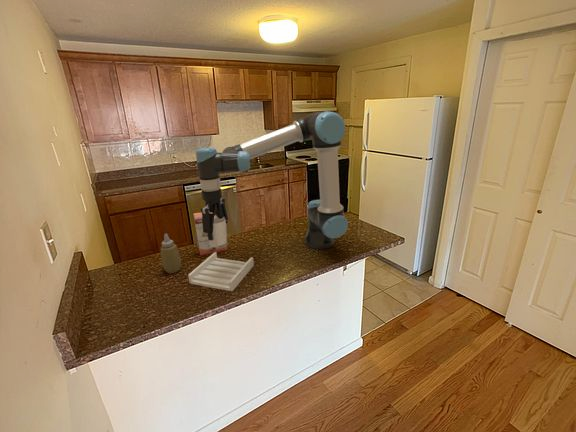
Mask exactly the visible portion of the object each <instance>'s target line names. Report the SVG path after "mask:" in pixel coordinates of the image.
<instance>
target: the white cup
mask: <svg viewBox="0 0 576 432" xmlns="http://www.w3.org/2000/svg"><path fill="white" fill-rule="evenodd" d="M226 221H227V220H225V218H224V217H223V218H222V219H219V218H218V217H214V224H213V232H215V239H216V246H220V245H223V244H225V243H226V242H227V243H228V239H227V238H228V234H227V223H226ZM226 236H227V237H226Z"/></svg>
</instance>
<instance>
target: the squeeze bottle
mask: <svg viewBox="0 0 576 432" xmlns="http://www.w3.org/2000/svg"><path fill="white" fill-rule="evenodd" d="M160 256H161V257H160V258H161V267H162V268H163V269H164V270H165V272H166V273H168V274H175V273H177V272H179V271H180V270H181V264H182V258H181V255H180V253H179V250H178V245H177V244H175V243H174V240H173V239H170V237H169V235H168V233H164V234H163V240H162V242H161V247H160Z"/></svg>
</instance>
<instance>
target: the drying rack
mask: <svg viewBox="0 0 576 432" xmlns="http://www.w3.org/2000/svg"><path fill="white" fill-rule="evenodd" d="M217 253H218V252H214V253H211V255H210V256H208V257H207V258H206V259H205V260H204V261H203V262H201V263H200V264H199V265H198V266H197V267H195V268H194V269H193V270H192V271H190V273H188V275H187V276H188V280H189V284H191V285H197V286H202V287H206V288H212V289H217V290H222V291H229V292H233V291H234V290H235V289H236V288H237V287H238V285H239V284H240V282H242V281H243V279H244V278H245V277H246V276H247V274H248V273H250V271H251V269H252V268H253V267H254V266H255V265H254V263H255V262H254V257H253V256H252V257H249V259H248V260H247V261H240V260H232V259H228V258H227V259H226V258H220V257H219V258H218V255H217Z"/></svg>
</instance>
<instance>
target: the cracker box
mask: <svg viewBox="0 0 576 432" xmlns="http://www.w3.org/2000/svg"><path fill="white" fill-rule="evenodd" d="M209 213H210V212H209ZM214 217H217V215H215V216H214ZM193 219H194V227H195V231H196V239H197V244H198V251H199V255H200V256H205V255H210V254H211V255H212V254H213V253H214V252H216V253H221V252H226V251H229V246H228V245H229V243H228V241H227V242H226V243H225V244H223V245H220V246H217V247H210V245H209V240H208V234H207V233H203V222H202V213H201V211H200V212H195V213H193Z"/></svg>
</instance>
